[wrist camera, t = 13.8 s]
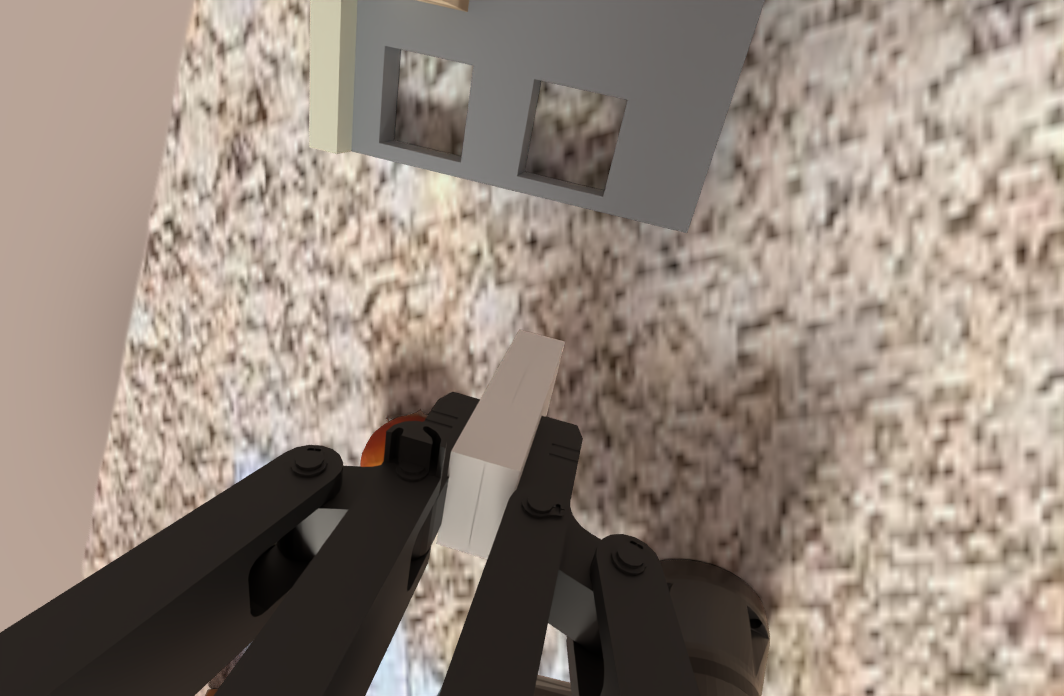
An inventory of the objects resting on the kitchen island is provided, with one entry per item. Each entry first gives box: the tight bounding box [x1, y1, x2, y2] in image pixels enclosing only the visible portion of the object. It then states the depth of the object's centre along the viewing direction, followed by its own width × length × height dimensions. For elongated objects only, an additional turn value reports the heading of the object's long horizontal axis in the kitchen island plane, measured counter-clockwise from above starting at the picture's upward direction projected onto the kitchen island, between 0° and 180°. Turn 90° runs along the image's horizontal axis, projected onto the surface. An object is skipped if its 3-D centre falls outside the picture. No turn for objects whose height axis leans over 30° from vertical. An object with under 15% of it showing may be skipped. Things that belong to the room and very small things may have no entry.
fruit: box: [360, 409, 427, 467], centre depth 48 cm, size 8×8×8 cm
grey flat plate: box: [309, 0, 765, 233], centre depth 34 cm, size 26×16×4 cm, turn 79°
